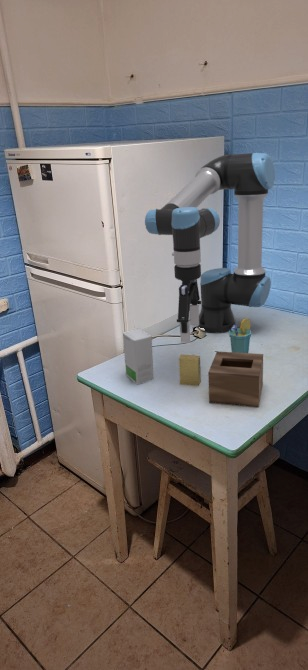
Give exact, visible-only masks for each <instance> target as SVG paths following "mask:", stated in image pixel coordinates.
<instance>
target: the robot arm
mask: <svg viewBox="0 0 308 670" xmlns="http://www.w3.org/2000/svg"><path fill="white" fill-rule="evenodd" d="M275 178H276V172H275V166H274V162H273V160H272V157H271V156H270V155H269V154H267V153H263V152H253V153H252V152H251V153H238V154H237V153H235V154H232V153H231V154H225V155H221V156H218V157H216V158H214V159H212V160H211V161H209V162H207V163H206V164H204V165H203V166H202V167H200V168H199V170H197V172H196V173H195V175H194V178H193V179H192V180H191V181H189V182H188V183H187V184H186V185H185V186H184V187H183V188H182V189H181V190H180V191H179V192H178V193H177V194H176V195H175V196H173V197H172V198H171V199H170V200H169V201H168V202H167V203H166V204H165V205H164V206H163V207H161V208H160V209H158V208H155V209H150V210H148V211H147V212H146V214H145V217H144V226H145V229H146V231H147V232H148V233H149V234H151V235H158V236H162V235H163V236H172V244H173V247H172V248H173V252H172V253H171V256H172V257H173V262H174V265H173V266H174V267H173V268H174V278H175V279H176V280H178V281H180V282H181V284H180V286H178V287H179V288H178V308H177V309H178V310H177V311H178V312H177V319H176V323H179V334H180V335H179V336H180V343H182V344H190V343H191V326H197V328H198V327H200V328H204V329H205V331H206V332H205V333H210V334H220V333H226V332H229V330H231V328H232V327H233V325H236V319H235V316H234V313H233V310H232V305H236V306H243V307H249V308H252V307H253V308H261V307H262V306H264V305H265V303H266V302H267V300H268V298H269V295H270V292H271V286H272V281H271V278H270V277H269V276H268V275H266V269H265V268H263V266H262V257H263V256H262V255H263V254H262V253H263V229H264V228H263V226H264V225H263V224H264V199H265V198H266V197H267V196H268V194H269V190H270V189H272V188H273V186H275V185H274V183H275ZM221 190H233V196H234V197H235V198H236V199H237V200H238V201H237V202H238V205H237V206H238V207H237V208H238V212H237V213H238V214H237V215H238V216H237V217H238V218H237V221H238V225H237V266H236V268H234V270H233V273H232V271H231V269H230V268H228V267H221V268H220V267H218V268H213V269H209V270H206V271H204V272H203V273H202V264H200V263H201V262H202V259H201V238H204V237H206V236H209V235H212V234H213V233H214V232H216V231H218V228H219V226H220V222H221V220H220V215H219V213H218V212H217V211H216V210H215V209H214V208H211V207H207V208H201V209H199V208H198V207H199V206H200V205H201V204H202V203H203V202H204V201H205V200H206V199H207V198H208V197H209V196H210V195H214V194H215V193H217V192H218V191H221ZM198 279H200V284H199V285H200V291H199V286H198ZM199 305H201V309H199V308H200V307H199ZM199 310H200V311H199ZM199 312H200V313H199Z"/></svg>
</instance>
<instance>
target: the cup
mask: <svg viewBox="0 0 308 670" xmlns="http://www.w3.org/2000/svg"><path fill="white" fill-rule="evenodd" d="M251 326H252V323H251V320H250V318H243V319H242V321H241V322H240V327H238V326H237V325H236V324H235V325H233V327H232V328H231V330H229V331H228V336H229V338H230V348H231V350H230V351H231V352H236V353H249V352H250V342H251V337H252V331H251Z"/></svg>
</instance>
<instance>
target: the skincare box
mask: <svg viewBox="0 0 308 670" xmlns="http://www.w3.org/2000/svg"><path fill="white" fill-rule="evenodd" d="M122 339H123V352H124V364H125V376H126V377H127V378H129V379H131V380H132V381H133V382H134V384H136V385H140V384H143V383H146V382H149V381H152V380H154V358H153V357H154V356H153V337H152V335H150V334H149V333H147V331H144V330H143V329H142V328H139V327H138V328H135V329H131V330H128V331H123V332H122Z"/></svg>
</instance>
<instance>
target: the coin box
mask: <svg viewBox="0 0 308 670" xmlns="http://www.w3.org/2000/svg"><path fill="white" fill-rule="evenodd" d="M207 372H208V375H207V376H208V401H209V404H217V405H218V404H219V405H227V406H228V405H229V406H238V407H239V406H240V407H251V408H260V402H261V396H262V389H263V386H264V385H263V383H264V381H263V380H264V353H252V352H250V353H249V352H248V353H236V352H232V351H231V352H230V351H216V352H215V355H214V357H213V360H212V363H211V364H210V367H209V370H208V371H207Z"/></svg>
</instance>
